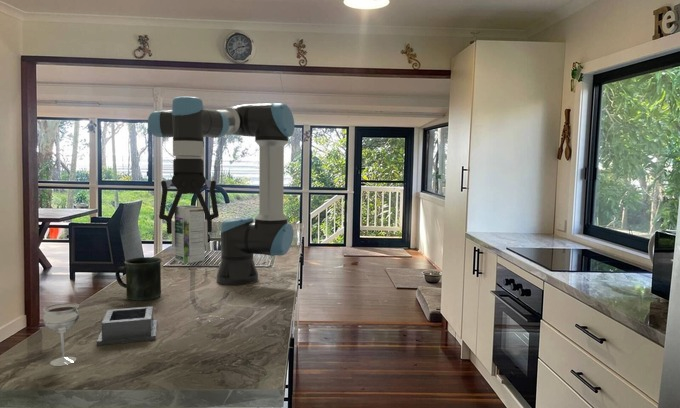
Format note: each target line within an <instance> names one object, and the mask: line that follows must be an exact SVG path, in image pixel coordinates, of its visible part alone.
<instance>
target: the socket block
mask: <svg viewBox="0 0 680 408" xmlns="http://www.w3.org/2000/svg"><path fill="white" fill-rule="evenodd" d="M100 326H101V330H100V333H99V335H98V337H97V339H96V346H105V345H106V346H107V345H116V344H126V343H127V344H128V343H135V342H147V341H156V338H157V329H158V319H157V318H155V319H154V306H152V305H151V306H140V307H127V308H125V307H124V308H112V309H107V310H106V313H105V314H104V317H103V319H102V321H101V325H100Z"/></svg>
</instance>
